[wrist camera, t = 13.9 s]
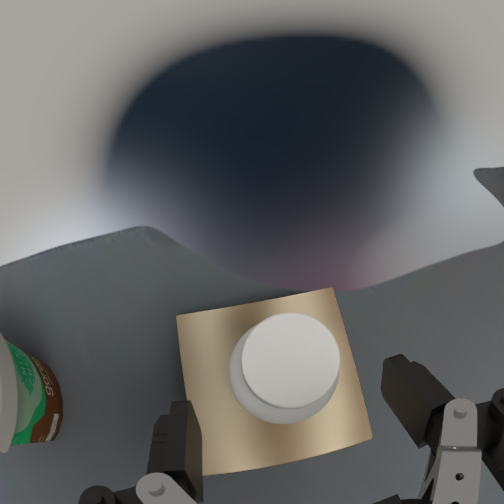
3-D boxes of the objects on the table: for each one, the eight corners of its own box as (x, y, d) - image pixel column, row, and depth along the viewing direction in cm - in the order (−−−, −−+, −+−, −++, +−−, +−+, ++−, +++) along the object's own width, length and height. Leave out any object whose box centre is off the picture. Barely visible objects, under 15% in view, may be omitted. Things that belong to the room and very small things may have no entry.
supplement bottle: (220, 378, 20) (194, 349, 12) (279, 331, 22) (295, 271, 14) (271, 437, 18) (283, 453, 10) (330, 386, 20) (382, 360, 12)
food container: (99, 406, 22) (25, 391, 13) (64, 452, 19) (-14, 452, 11) (26, 320, 25) (-39, 276, 17) (-3, 361, 23) (-71, 329, 14)
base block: (324, 301, 26) (332, 287, 24) (360, 436, 20) (372, 438, 18) (184, 326, 25) (176, 315, 23) (207, 469, 20) (200, 475, 17)
